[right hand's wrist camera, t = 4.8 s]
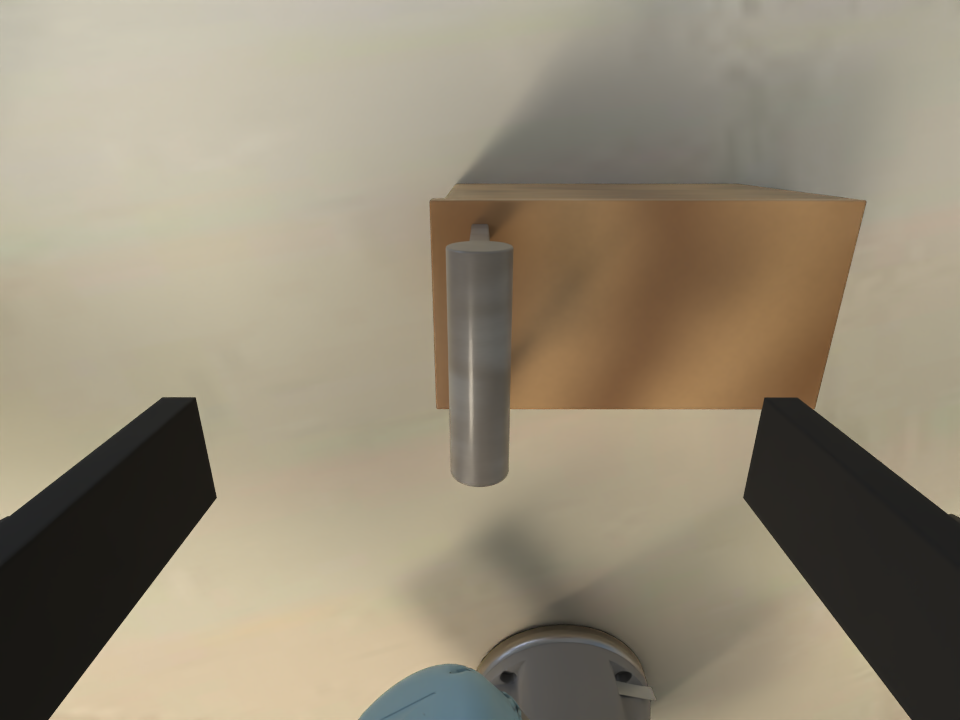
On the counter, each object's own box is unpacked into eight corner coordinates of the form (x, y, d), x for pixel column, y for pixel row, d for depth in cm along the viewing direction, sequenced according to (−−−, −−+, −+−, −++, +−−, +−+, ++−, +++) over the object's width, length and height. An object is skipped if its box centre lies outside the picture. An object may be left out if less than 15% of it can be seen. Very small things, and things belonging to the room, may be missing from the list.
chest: (457, 330, 36) (449, 399, 26) (455, 183, 33) (444, 198, 23) (713, 330, 36) (802, 399, 26) (737, 183, 33) (850, 198, 23)
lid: (437, 399, 26) (419, 507, 18) (431, 198, 23) (405, 223, 15) (802, 400, 26) (941, 507, 18) (851, 198, 23) (1046, 223, 15)
